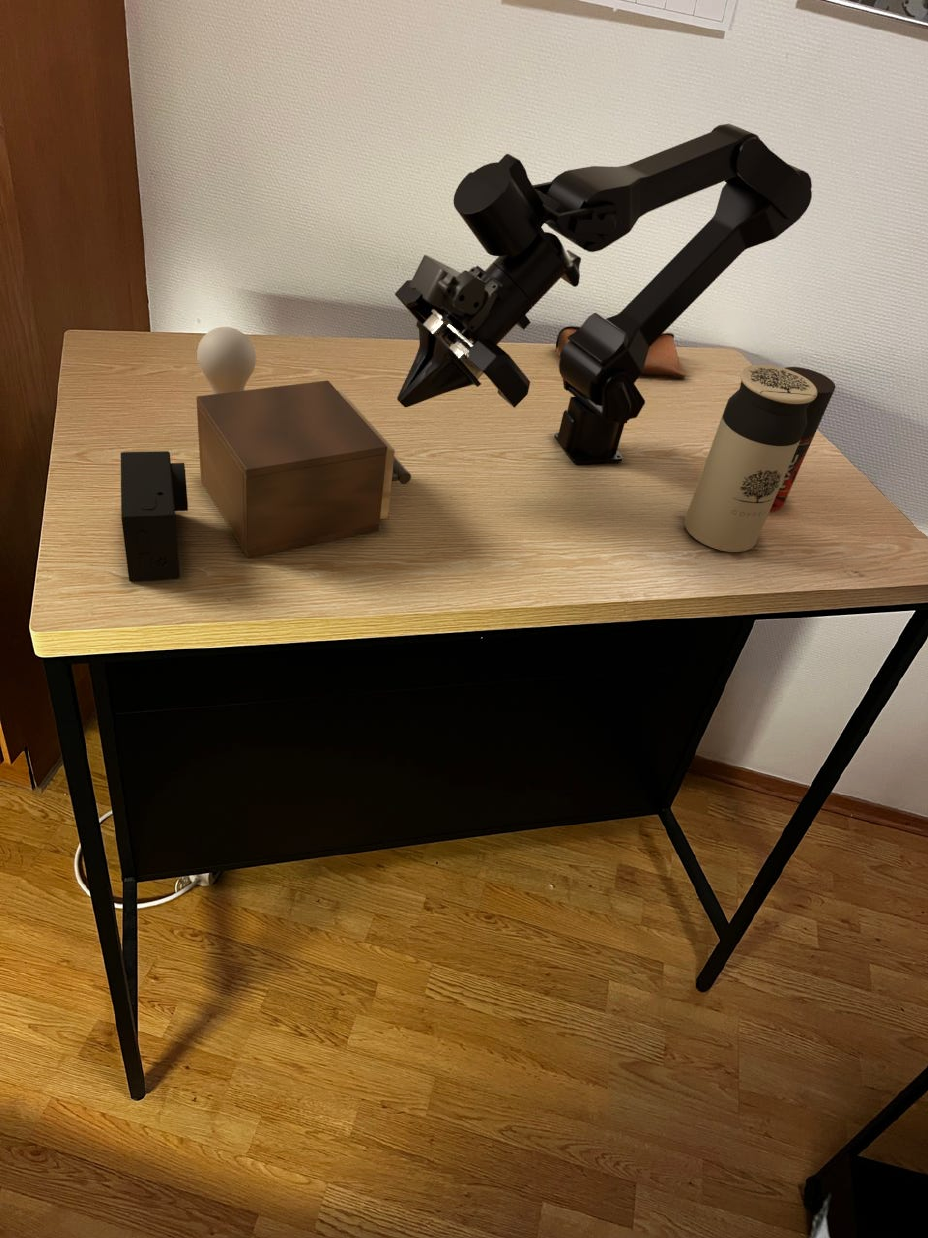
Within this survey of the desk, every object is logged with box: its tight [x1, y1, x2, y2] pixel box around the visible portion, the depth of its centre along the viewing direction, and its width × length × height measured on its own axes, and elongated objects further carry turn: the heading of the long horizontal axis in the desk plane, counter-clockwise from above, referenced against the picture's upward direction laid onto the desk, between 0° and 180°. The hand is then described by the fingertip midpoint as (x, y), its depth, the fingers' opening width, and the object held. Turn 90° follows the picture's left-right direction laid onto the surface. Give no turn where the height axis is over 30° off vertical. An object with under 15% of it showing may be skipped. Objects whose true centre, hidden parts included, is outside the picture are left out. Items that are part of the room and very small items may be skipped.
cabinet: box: [195, 380, 387, 559], centre depth 88 cm, size 14×14×10 cm
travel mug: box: [683, 364, 817, 553], centre depth 93 cm, size 8×8×18 cm
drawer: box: [336, 389, 412, 520], centre depth 89 cm, size 17×12×8 cm
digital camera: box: [120, 450, 189, 582], centre depth 81 cm, size 10×5×7 cm, turn 17°
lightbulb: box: [196, 326, 257, 395], centre depth 98 cm, size 6×6×11 cm
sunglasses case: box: [555, 325, 686, 378], centre depth 128 cm, size 18×7×7 cm, turn 102°
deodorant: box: [769, 366, 836, 513], centre depth 101 cm, size 6×6×15 cm
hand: (401, 403), depth 90 cm, fingers closed
